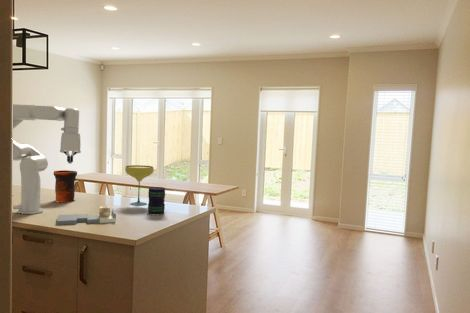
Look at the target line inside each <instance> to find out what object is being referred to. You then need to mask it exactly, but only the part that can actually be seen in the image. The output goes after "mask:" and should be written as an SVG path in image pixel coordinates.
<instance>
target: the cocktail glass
mask: <svg viewBox="0 0 470 313" xmlns="http://www.w3.org/2000/svg"><path fill="white" fill-rule="evenodd" d="M125 173H126V174H127V175H129V176H130V177H132V178H134V179H136V180H135V181H137V182H138V192H137V194H138V195H137V201H134V202H130V203H129V205H130V206H135V207H136V206H137V207H138V206H142V207H143V206H146V205H148V204H147V202H143V201H141V200H140V189H141V188H140V186H141V184H140V183H141V182H142V181H143V179H145V178H147V177H149V176H151V175H152V174H153V173H154V166H151V165H138V164H137V165H135V164H133V165H126V166H125Z"/></svg>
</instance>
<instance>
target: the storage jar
mask: <svg viewBox="0 0 470 313" xmlns="http://www.w3.org/2000/svg"><path fill="white" fill-rule="evenodd" d="M147 193H148V194H147V195H148V197H147V198H148V204H147V214H148V213H149V215H153V214H159V215H164V214H165V206H166V205H165V197H166V188H165V187H162V186H150V187H148V192H147ZM163 213H164V214H163Z"/></svg>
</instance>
